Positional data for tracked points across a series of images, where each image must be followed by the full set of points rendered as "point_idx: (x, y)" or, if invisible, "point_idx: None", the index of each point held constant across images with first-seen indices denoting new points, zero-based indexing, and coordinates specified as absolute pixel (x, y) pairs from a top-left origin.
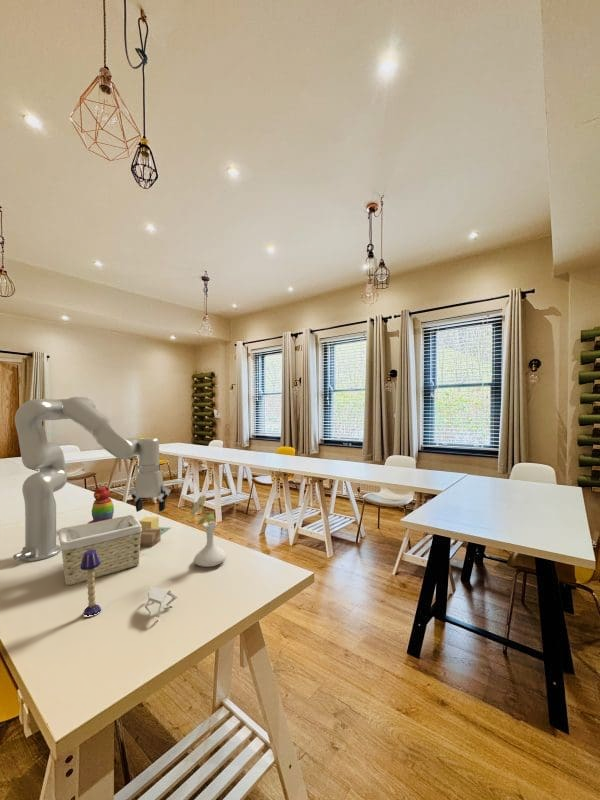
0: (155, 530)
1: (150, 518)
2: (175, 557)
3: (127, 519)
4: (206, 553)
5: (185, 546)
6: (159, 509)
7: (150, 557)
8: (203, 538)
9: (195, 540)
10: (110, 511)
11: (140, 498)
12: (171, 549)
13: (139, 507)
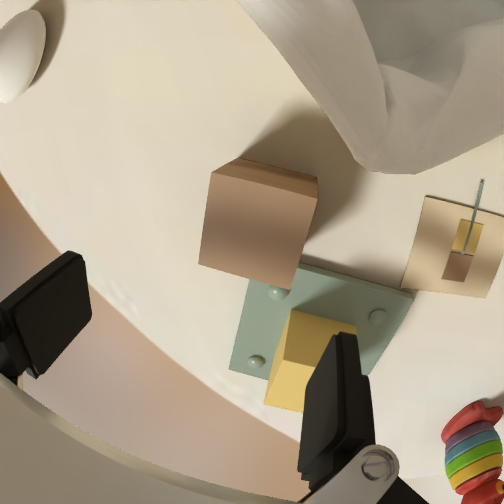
0: (218, 242)
1: (301, 398)
2: (111, 69)
3: (400, 84)
4: (1, 29)
5: (106, 176)
6: (64, 263)
7: (213, 63)
8: (80, 247)
9: (95, 234)
10: (457, 456)
11: (311, 494)
12: (147, 147)
13: (324, 381)
